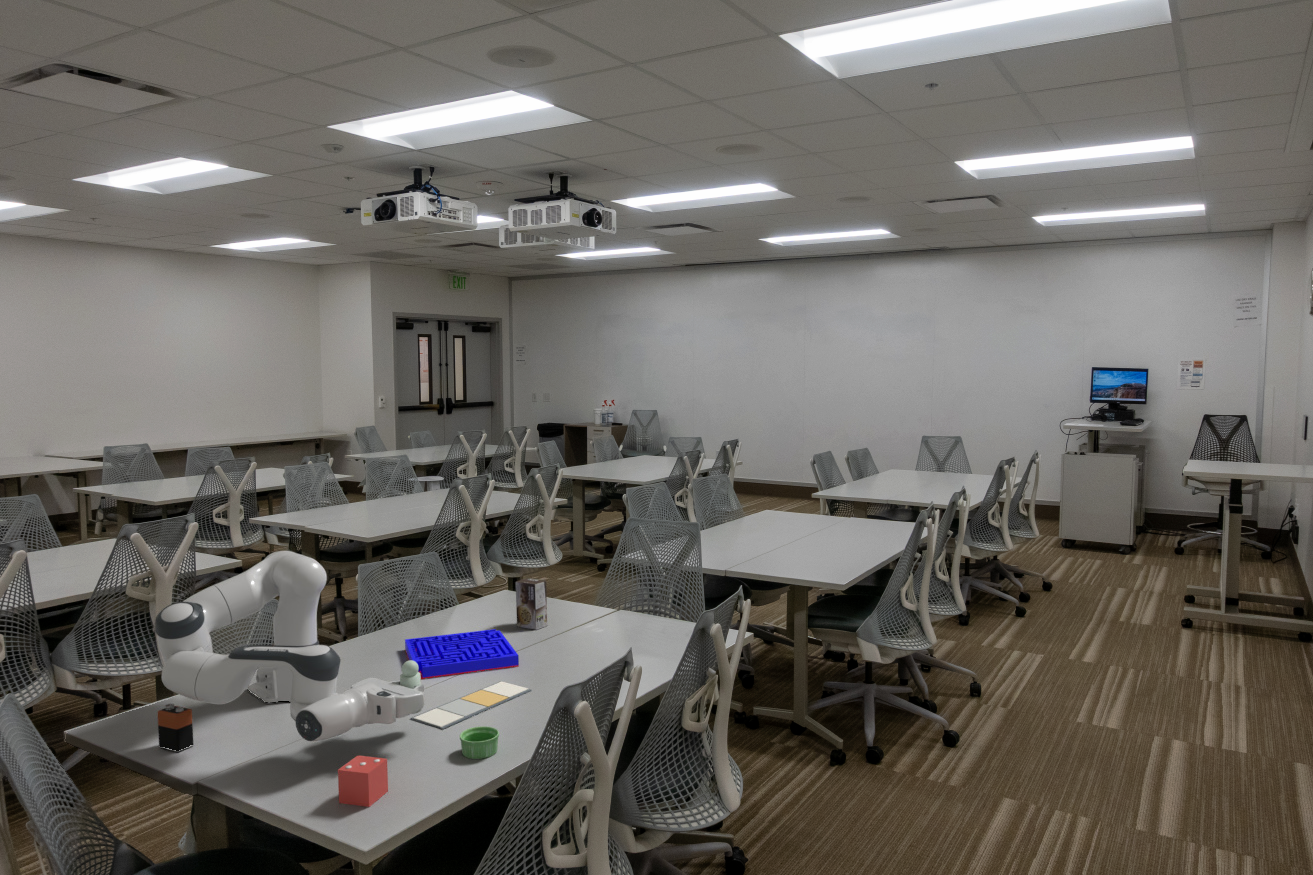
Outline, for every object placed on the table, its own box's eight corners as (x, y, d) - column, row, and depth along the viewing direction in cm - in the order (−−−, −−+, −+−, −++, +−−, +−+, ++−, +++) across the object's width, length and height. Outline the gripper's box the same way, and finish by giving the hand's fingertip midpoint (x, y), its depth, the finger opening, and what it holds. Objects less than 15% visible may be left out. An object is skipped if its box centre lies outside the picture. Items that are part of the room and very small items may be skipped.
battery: (174, 741, 210) (172, 700, 210) (194, 745, 207) (192, 704, 207) (158, 748, 206) (156, 707, 206) (178, 753, 203) (176, 711, 203)
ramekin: (452, 752, 203) (452, 733, 203) (485, 740, 209) (485, 722, 209) (473, 764, 197) (473, 745, 196) (507, 751, 203) (506, 733, 203)
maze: (518, 668, 263) (518, 655, 262) (415, 681, 252) (415, 668, 251) (498, 640, 291) (498, 628, 290) (405, 651, 280) (404, 639, 279)
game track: (410, 718, 223) (410, 717, 223) (500, 682, 249) (500, 680, 249) (442, 729, 216) (442, 727, 216) (531, 690, 242) (531, 688, 242)
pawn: (397, 711, 214) (395, 661, 213) (412, 705, 218) (411, 656, 217) (410, 715, 212) (408, 665, 211) (425, 709, 216) (424, 659, 215)
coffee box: (548, 625, 305) (547, 580, 304) (536, 630, 300) (535, 583, 299) (527, 621, 310) (527, 577, 309) (515, 626, 305) (514, 580, 304)
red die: (339, 802, 179) (337, 768, 178) (358, 787, 186) (357, 754, 185) (369, 806, 177) (368, 772, 177) (388, 790, 184) (387, 757, 183)
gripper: (339, 706, 210) (386, 689, 221) (395, 725, 198) (442, 706, 210) (338, 681, 209) (385, 665, 221) (394, 698, 198) (441, 680, 209)
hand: (413, 685), depth 215 cm, fingers closed on pawn, 5 cm apart
